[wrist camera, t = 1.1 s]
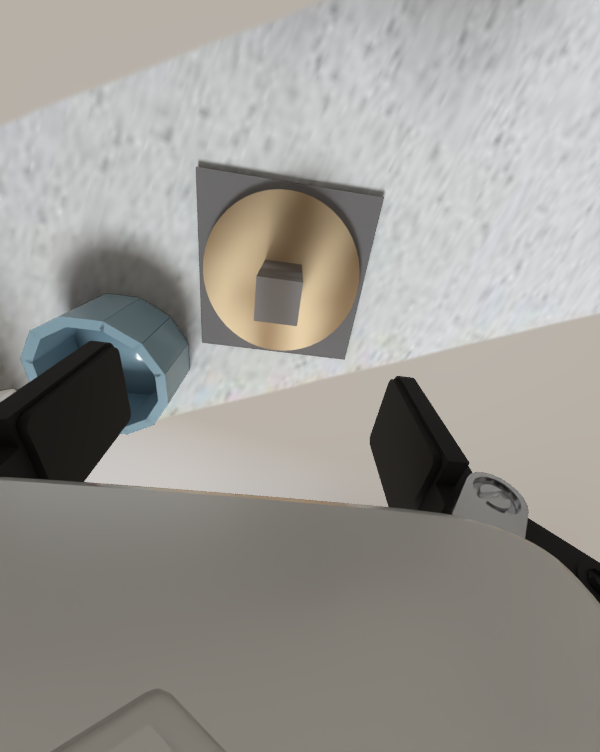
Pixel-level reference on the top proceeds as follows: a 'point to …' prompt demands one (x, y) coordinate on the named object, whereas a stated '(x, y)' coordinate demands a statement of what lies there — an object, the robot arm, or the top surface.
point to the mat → (229, 188)
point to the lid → (281, 269)
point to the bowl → (133, 340)
